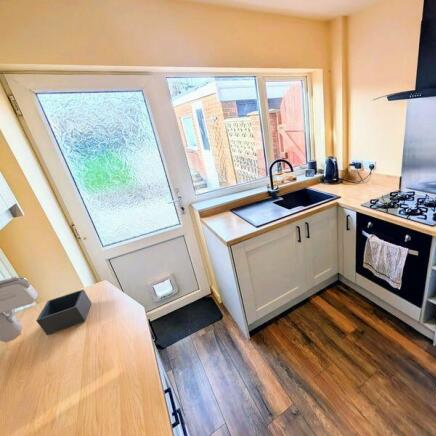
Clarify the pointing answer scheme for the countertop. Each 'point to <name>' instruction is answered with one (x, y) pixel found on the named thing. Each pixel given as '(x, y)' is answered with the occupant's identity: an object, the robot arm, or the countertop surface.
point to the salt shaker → (9, 328)
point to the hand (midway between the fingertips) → (2, 324)
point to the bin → (64, 312)
